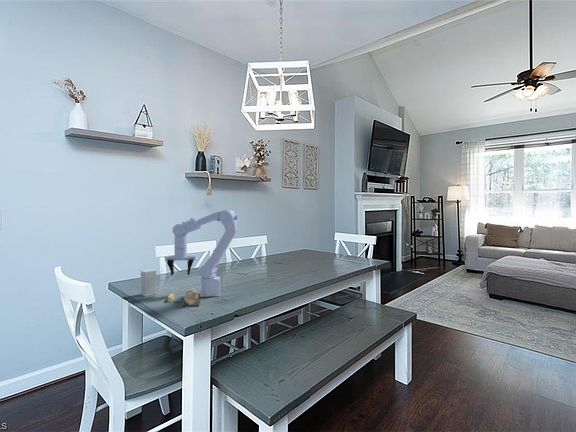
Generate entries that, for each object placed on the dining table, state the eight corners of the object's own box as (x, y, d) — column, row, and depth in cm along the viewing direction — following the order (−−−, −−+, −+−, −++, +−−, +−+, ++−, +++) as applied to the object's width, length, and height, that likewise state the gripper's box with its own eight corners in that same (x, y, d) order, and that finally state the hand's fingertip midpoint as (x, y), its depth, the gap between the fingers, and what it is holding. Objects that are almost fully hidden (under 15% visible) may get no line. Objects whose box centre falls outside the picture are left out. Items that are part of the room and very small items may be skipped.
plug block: (193, 300, 135) (193, 289, 135) (198, 302, 132) (198, 291, 132) (185, 302, 132) (185, 291, 132) (190, 304, 129) (190, 293, 129)
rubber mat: (200, 301, 136) (200, 300, 136) (198, 306, 129) (198, 304, 129) (186, 302, 134) (186, 300, 134) (183, 306, 128) (183, 305, 128)
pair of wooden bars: (189, 297, 142) (189, 292, 142) (187, 301, 136) (187, 296, 136) (170, 297, 140) (170, 293, 140) (167, 301, 134) (167, 297, 134)
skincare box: (152, 292, 149) (152, 268, 148) (156, 293, 146) (156, 270, 145) (140, 294, 144) (140, 270, 143) (144, 296, 141) (144, 272, 141)
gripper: (196, 246, 152) (196, 272, 152) (167, 246, 149) (167, 273, 150) (194, 248, 145) (194, 275, 146) (163, 248, 142) (163, 276, 143)
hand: (180, 274), depth 147 cm, fingers open, 7 cm apart
